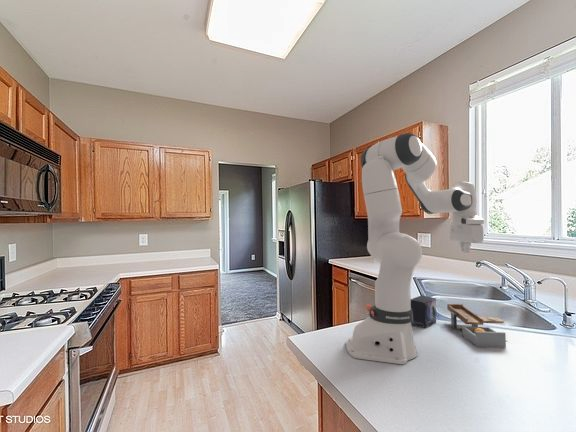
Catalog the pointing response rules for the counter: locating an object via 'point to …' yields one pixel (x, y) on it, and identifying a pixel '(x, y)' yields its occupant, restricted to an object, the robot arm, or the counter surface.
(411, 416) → the counter surface
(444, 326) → the counter surface
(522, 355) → the counter surface
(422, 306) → the small box
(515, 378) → the counter surface
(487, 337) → the bin
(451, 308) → the brown wooden tray
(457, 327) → the stand
